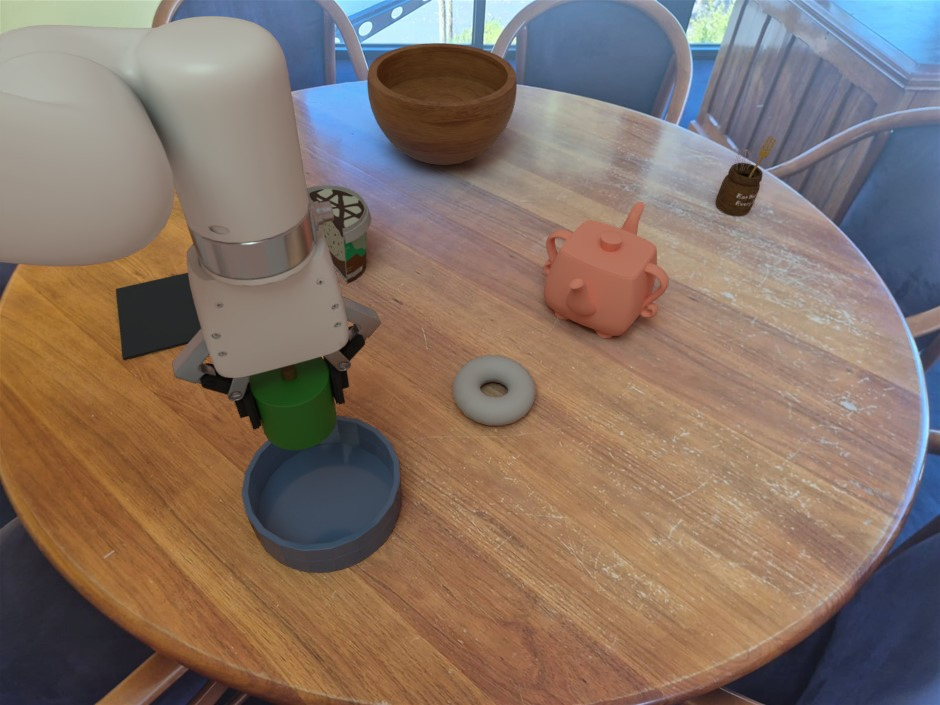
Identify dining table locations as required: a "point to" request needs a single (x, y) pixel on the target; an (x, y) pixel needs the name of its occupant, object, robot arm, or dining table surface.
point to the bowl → (441, 100)
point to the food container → (345, 228)
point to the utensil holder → (741, 185)
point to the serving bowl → (325, 498)
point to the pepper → (295, 404)
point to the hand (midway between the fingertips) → (296, 403)
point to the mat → (156, 315)
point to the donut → (494, 408)
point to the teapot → (603, 275)
